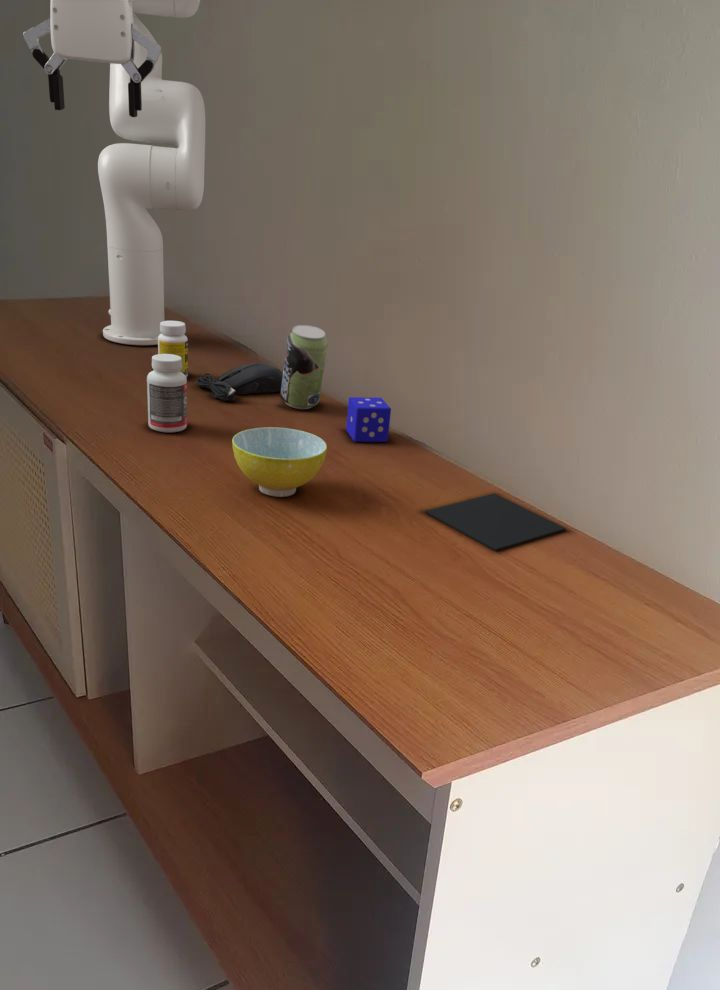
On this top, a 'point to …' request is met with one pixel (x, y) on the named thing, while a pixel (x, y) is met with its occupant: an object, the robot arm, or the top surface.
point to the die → (368, 419)
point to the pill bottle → (167, 394)
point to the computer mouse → (243, 381)
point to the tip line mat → (495, 521)
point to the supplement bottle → (174, 342)
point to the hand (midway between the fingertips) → (96, 113)
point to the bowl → (278, 458)
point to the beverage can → (303, 367)
